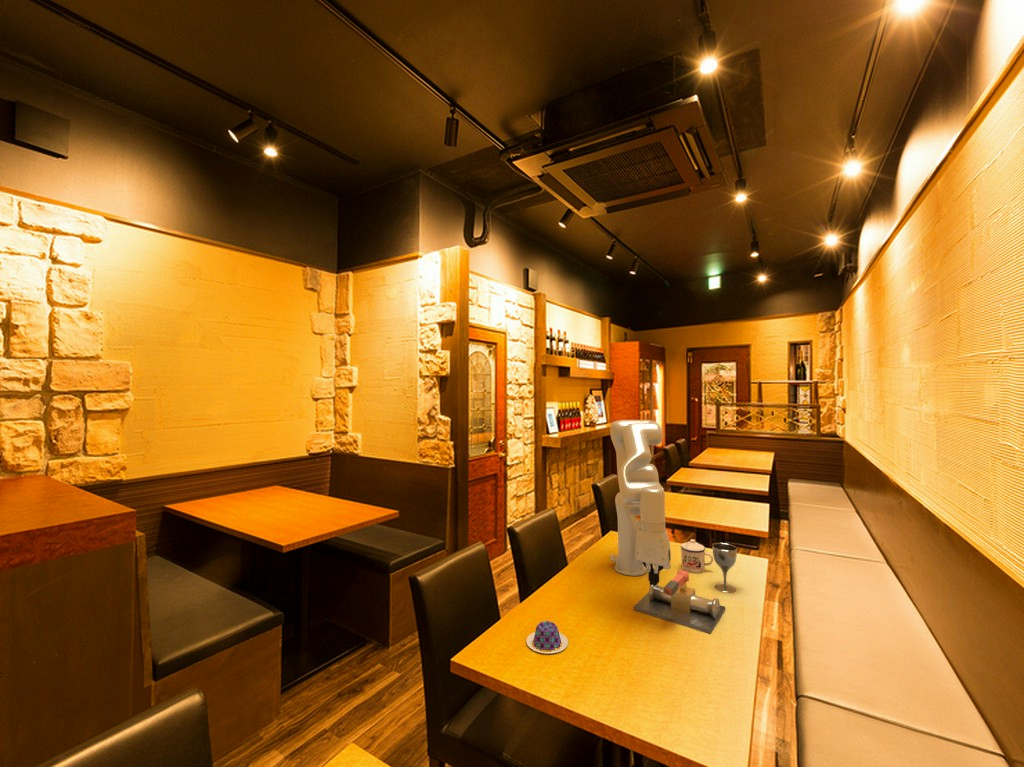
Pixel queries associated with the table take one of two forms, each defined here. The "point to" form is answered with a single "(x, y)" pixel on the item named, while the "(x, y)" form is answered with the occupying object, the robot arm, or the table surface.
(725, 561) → the wine glass
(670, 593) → the lever
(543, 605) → the table surface
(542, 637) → the pudding
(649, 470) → the robot arm
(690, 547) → the teacup with lid
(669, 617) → the valve
